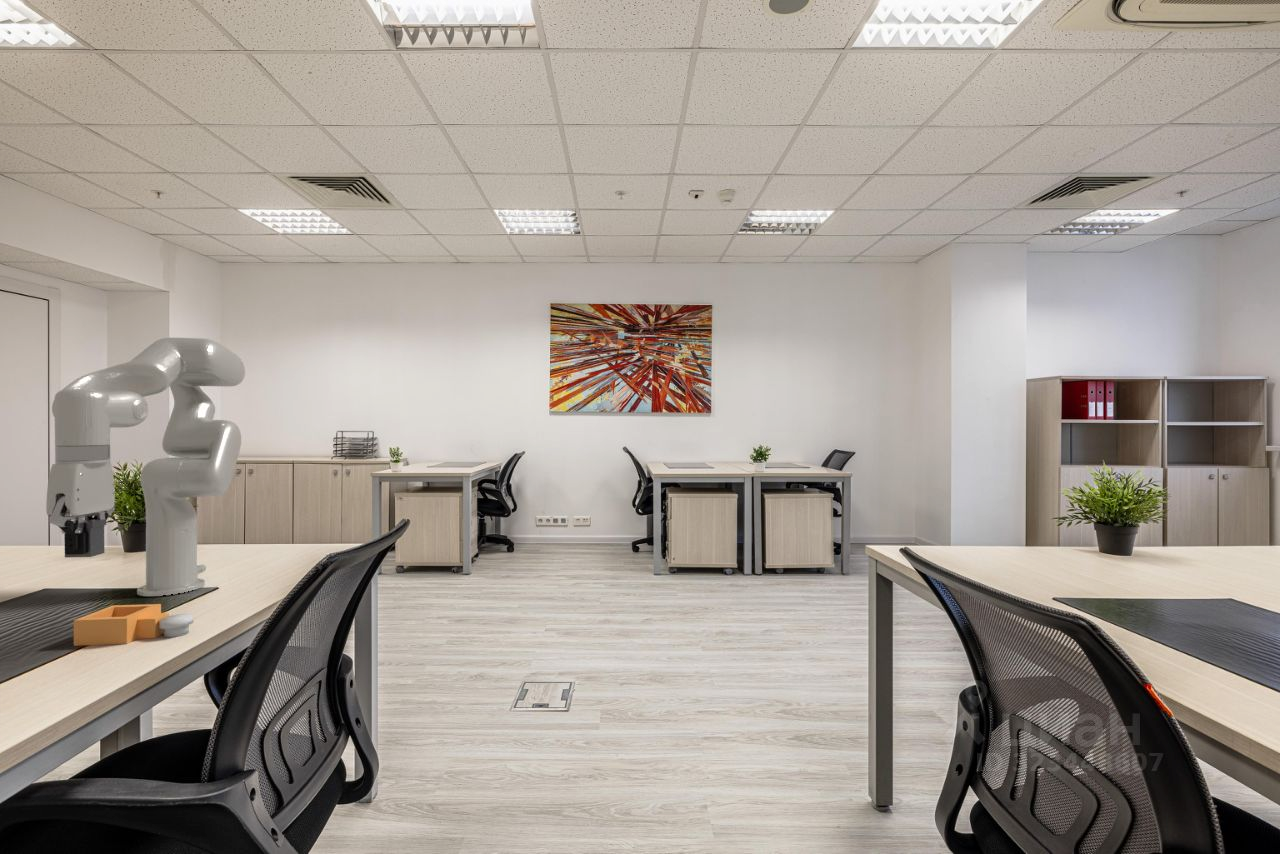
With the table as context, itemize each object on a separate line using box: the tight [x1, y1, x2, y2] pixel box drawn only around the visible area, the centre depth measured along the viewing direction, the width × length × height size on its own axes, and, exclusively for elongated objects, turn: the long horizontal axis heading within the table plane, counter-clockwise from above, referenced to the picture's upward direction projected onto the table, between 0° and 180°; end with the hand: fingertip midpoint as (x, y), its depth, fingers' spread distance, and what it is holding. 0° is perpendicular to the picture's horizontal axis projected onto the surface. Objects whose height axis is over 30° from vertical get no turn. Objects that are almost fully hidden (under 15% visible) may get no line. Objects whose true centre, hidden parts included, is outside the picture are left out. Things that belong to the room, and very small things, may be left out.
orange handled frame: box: [73, 603, 195, 647], centre depth 108 cm, size 17×9×4 cm, turn 97°
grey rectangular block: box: [63, 519, 107, 558], centre depth 110 cm, size 3×5×6 cm, turn 97°
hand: (84, 550), depth 110 cm, fingers closed on grey rectangular block, 3 cm apart
